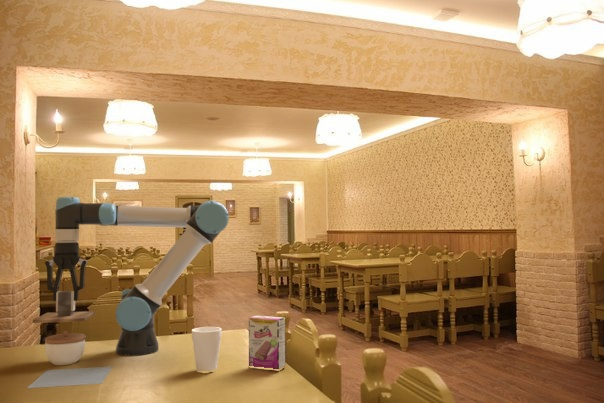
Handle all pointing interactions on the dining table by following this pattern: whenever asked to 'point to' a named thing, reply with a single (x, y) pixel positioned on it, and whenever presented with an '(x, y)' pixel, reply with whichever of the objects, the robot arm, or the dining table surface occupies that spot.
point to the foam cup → (206, 347)
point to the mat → (71, 377)
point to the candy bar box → (267, 342)
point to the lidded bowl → (65, 348)
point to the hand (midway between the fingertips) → (65, 310)
